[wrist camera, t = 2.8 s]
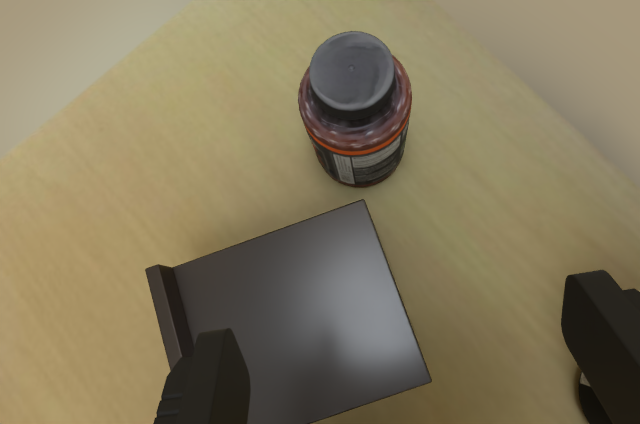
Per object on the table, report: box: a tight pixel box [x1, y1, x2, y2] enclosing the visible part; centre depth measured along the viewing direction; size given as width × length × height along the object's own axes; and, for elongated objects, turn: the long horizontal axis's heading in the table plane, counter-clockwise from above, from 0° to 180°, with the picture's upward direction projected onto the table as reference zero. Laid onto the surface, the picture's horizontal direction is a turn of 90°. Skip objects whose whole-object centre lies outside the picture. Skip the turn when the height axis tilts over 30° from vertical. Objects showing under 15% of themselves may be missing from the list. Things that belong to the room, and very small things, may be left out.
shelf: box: [145, 199, 432, 424], centre depth 28 cm, size 12×10×8 cm
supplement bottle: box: [298, 31, 412, 187], centre depth 28 cm, size 6×6×11 cm
